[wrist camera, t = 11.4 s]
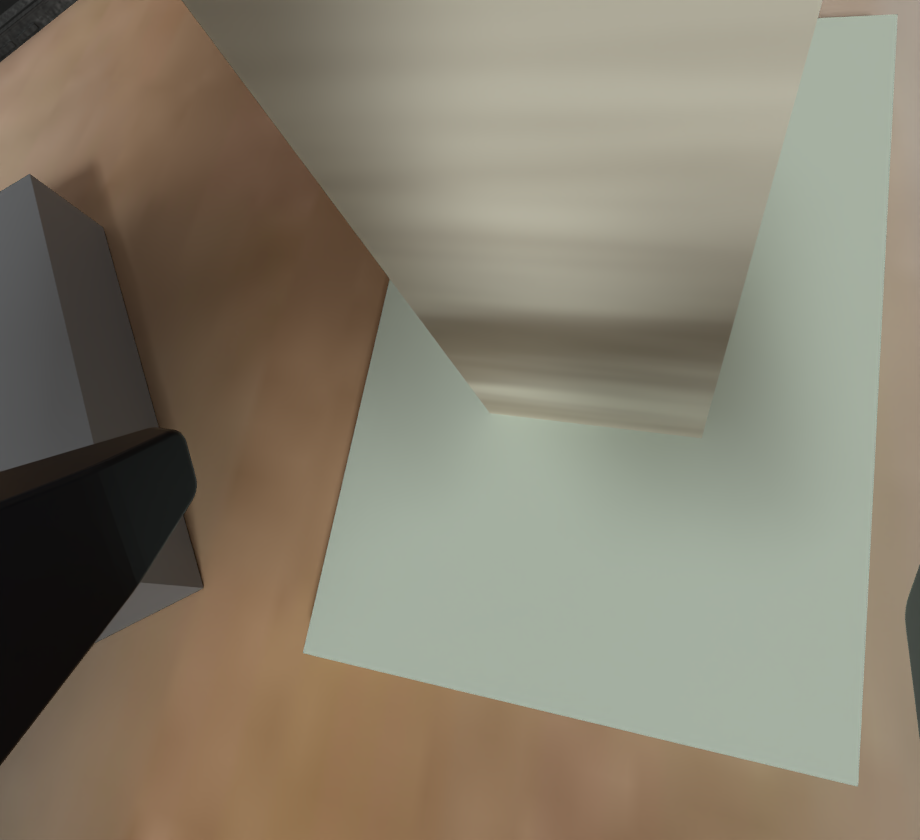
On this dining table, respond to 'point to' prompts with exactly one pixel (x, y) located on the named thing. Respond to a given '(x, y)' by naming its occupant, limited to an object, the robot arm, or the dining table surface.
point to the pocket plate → (73, 361)
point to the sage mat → (654, 491)
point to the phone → (25, 20)
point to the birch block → (544, 176)
